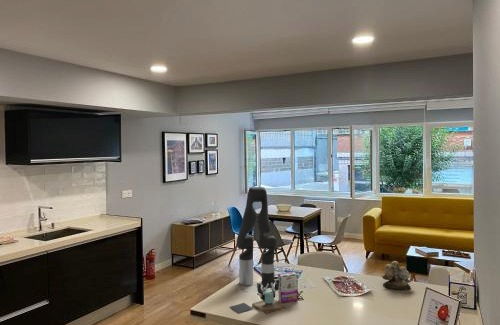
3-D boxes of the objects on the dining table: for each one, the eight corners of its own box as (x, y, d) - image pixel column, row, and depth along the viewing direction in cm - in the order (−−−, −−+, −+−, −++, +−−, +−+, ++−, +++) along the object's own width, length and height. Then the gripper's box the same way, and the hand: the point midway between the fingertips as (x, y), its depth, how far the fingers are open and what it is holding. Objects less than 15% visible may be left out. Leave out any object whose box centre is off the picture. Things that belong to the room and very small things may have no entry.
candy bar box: (295, 297, 230) (294, 271, 229) (298, 300, 225) (297, 274, 225) (277, 300, 227) (277, 273, 226) (280, 303, 222) (280, 276, 222)
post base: (252, 305, 219) (252, 293, 219) (271, 300, 227) (271, 288, 227) (266, 314, 207) (266, 301, 207) (286, 308, 215) (285, 295, 215)
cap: (261, 300, 218) (261, 291, 218) (270, 298, 221) (270, 289, 221) (266, 304, 213) (266, 294, 213) (275, 302, 216) (275, 292, 215)
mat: (229, 307, 218) (229, 306, 218) (244, 303, 223) (244, 302, 223) (238, 313, 209) (238, 312, 209) (253, 309, 215) (253, 308, 215)
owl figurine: (382, 289, 241) (382, 263, 240) (380, 283, 252) (379, 258, 252) (412, 291, 237) (412, 264, 237) (408, 284, 249) (408, 259, 248)
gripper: (275, 266, 223) (275, 294, 223) (253, 270, 216) (254, 299, 217) (281, 270, 216) (282, 299, 217) (260, 274, 210) (260, 304, 210)
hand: (268, 299), depth 217 cm, fingers closed on cap, 6 cm apart
